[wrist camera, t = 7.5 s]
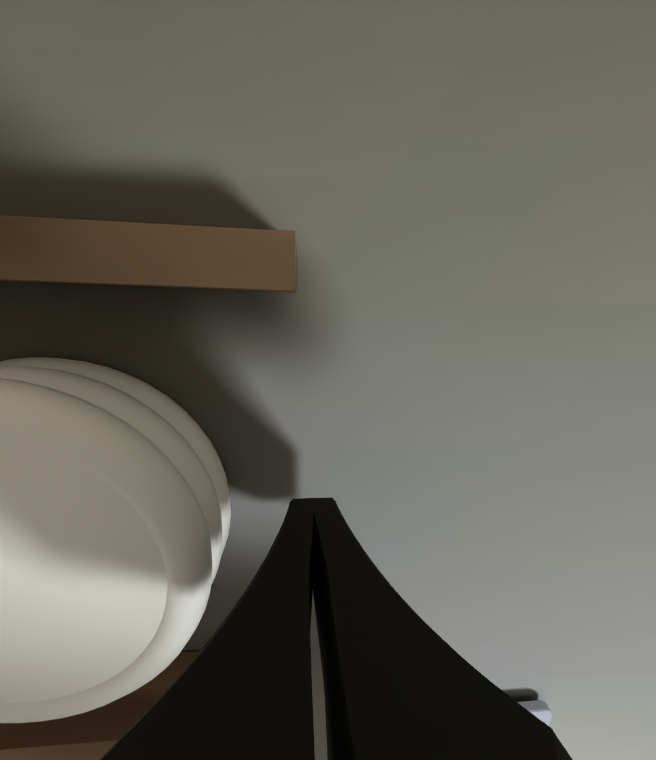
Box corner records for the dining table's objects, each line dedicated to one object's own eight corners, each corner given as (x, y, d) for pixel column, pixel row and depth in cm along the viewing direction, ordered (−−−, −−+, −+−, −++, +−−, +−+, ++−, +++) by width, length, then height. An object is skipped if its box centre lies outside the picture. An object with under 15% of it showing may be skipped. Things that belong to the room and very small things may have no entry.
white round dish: (247, 597, 12) (226, 711, 9) (-23, 623, 12) (-158, 758, 8) (217, 346, 10) (170, 372, 6) (-133, 361, 9) (-393, 398, 6)
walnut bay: (292, 713, 14) (290, 800, 11) (-61, 740, 13) (-147, 845, 10) (297, 136, 8) (295, 69, 6) (-332, 85, 7) (-665, -26, 5)
